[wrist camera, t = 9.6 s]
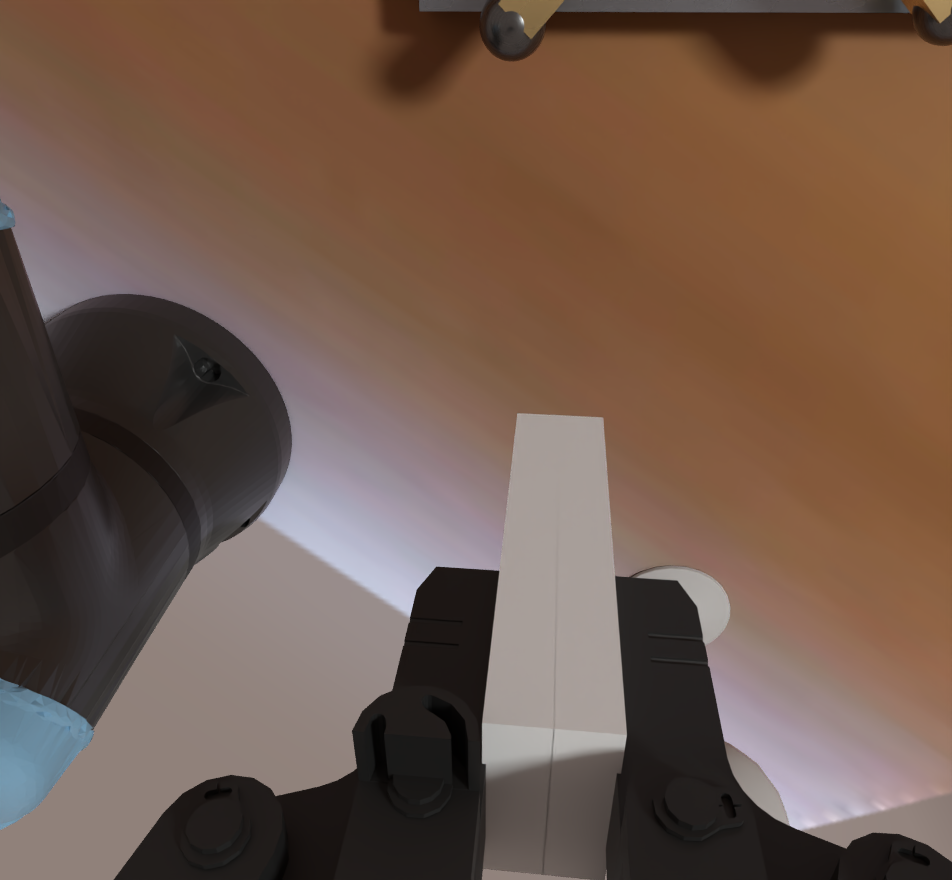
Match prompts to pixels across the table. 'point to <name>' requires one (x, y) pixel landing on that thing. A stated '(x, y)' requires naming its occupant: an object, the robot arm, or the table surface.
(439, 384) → the table surface
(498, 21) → the capstan
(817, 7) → the stand
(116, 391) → the robot arm
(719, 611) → the wineglass
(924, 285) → the table surface
